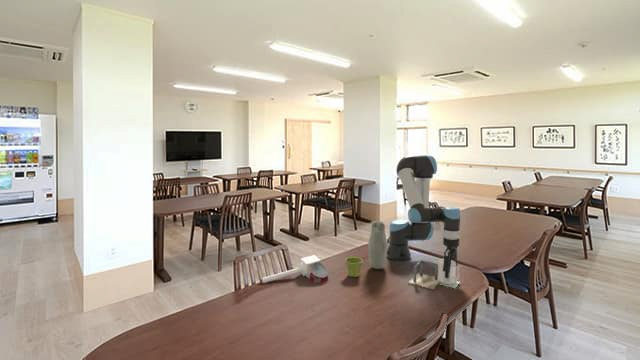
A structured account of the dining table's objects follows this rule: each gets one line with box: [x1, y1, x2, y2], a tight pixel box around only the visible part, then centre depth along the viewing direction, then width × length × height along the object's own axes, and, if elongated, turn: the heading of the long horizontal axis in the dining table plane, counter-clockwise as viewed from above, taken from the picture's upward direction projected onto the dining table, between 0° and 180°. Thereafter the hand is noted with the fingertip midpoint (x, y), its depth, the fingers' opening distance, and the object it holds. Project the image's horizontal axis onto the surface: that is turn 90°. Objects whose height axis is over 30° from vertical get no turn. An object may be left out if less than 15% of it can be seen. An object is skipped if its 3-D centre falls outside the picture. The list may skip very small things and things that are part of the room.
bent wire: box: [412, 260, 438, 282], centre depth 176 cm, size 9×10×8 cm
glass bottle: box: [368, 220, 388, 270], centre depth 195 cm, size 10×10×28 cm
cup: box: [437, 258, 460, 284], centre depth 172 cm, size 8×12×10 cm
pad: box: [439, 280, 461, 289], centre depth 173 cm, size 8×8×1 cm
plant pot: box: [345, 256, 363, 278], centre depth 186 cm, size 9×9×9 cm
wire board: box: [407, 272, 440, 290], centre depth 177 cm, size 13×14×1 cm
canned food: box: [309, 261, 329, 284], centre depth 182 cm, size 11×10×10 cm
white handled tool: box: [261, 254, 322, 284], centre depth 184 cm, size 9×9×32 cm
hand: (449, 280), depth 173 cm, fingers closed on cup, 8 cm apart
